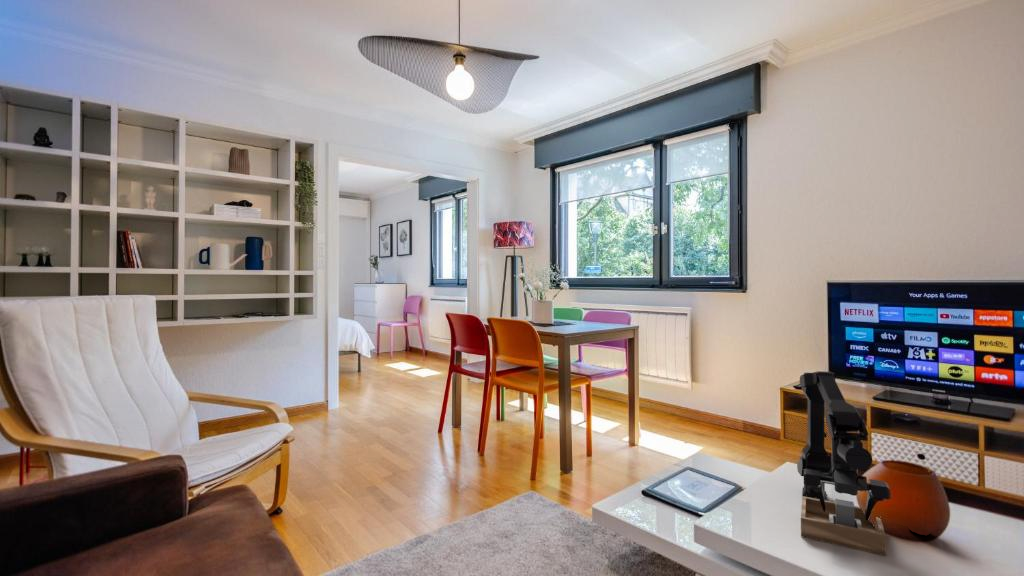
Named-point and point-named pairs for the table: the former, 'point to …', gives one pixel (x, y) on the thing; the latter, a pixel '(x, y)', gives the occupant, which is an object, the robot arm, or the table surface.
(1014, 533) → the table surface
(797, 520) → the table surface
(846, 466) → the robot arm
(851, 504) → the grey rectangular block
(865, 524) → the walled box
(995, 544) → the table surface
